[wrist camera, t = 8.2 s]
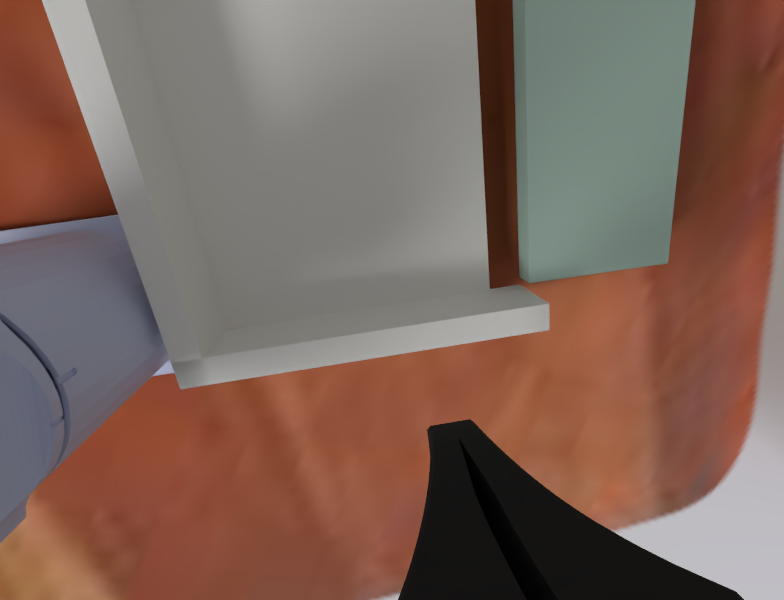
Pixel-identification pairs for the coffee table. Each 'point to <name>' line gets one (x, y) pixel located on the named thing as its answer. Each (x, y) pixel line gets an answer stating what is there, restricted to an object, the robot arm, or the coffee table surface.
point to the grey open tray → (294, 176)
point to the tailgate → (597, 132)
